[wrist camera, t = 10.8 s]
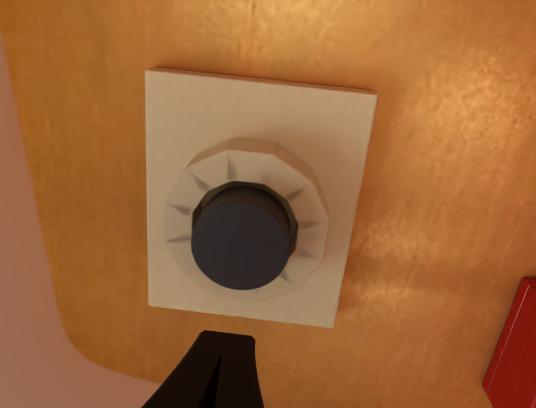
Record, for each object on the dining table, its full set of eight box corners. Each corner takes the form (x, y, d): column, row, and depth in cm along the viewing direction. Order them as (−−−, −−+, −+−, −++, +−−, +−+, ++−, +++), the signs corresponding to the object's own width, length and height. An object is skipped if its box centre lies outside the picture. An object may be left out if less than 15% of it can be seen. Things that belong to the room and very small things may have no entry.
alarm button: (285, 271, 18) (283, 296, 16) (199, 261, 18) (189, 284, 16) (295, 190, 16) (295, 208, 15) (202, 180, 16) (191, 196, 15)
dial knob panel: (332, 313, 21) (337, 356, 19) (155, 292, 22) (134, 331, 19) (373, 90, 17) (388, 101, 14) (153, 66, 17) (126, 73, 15)
